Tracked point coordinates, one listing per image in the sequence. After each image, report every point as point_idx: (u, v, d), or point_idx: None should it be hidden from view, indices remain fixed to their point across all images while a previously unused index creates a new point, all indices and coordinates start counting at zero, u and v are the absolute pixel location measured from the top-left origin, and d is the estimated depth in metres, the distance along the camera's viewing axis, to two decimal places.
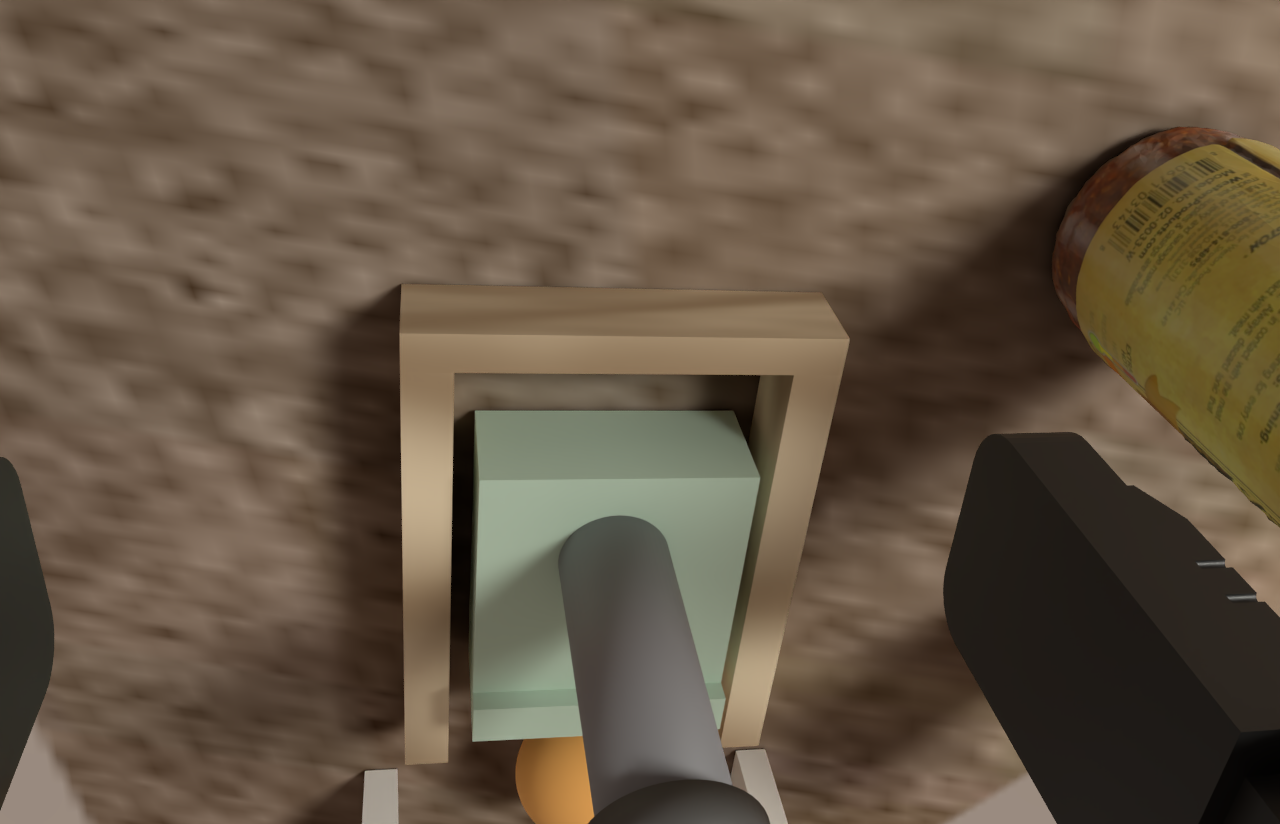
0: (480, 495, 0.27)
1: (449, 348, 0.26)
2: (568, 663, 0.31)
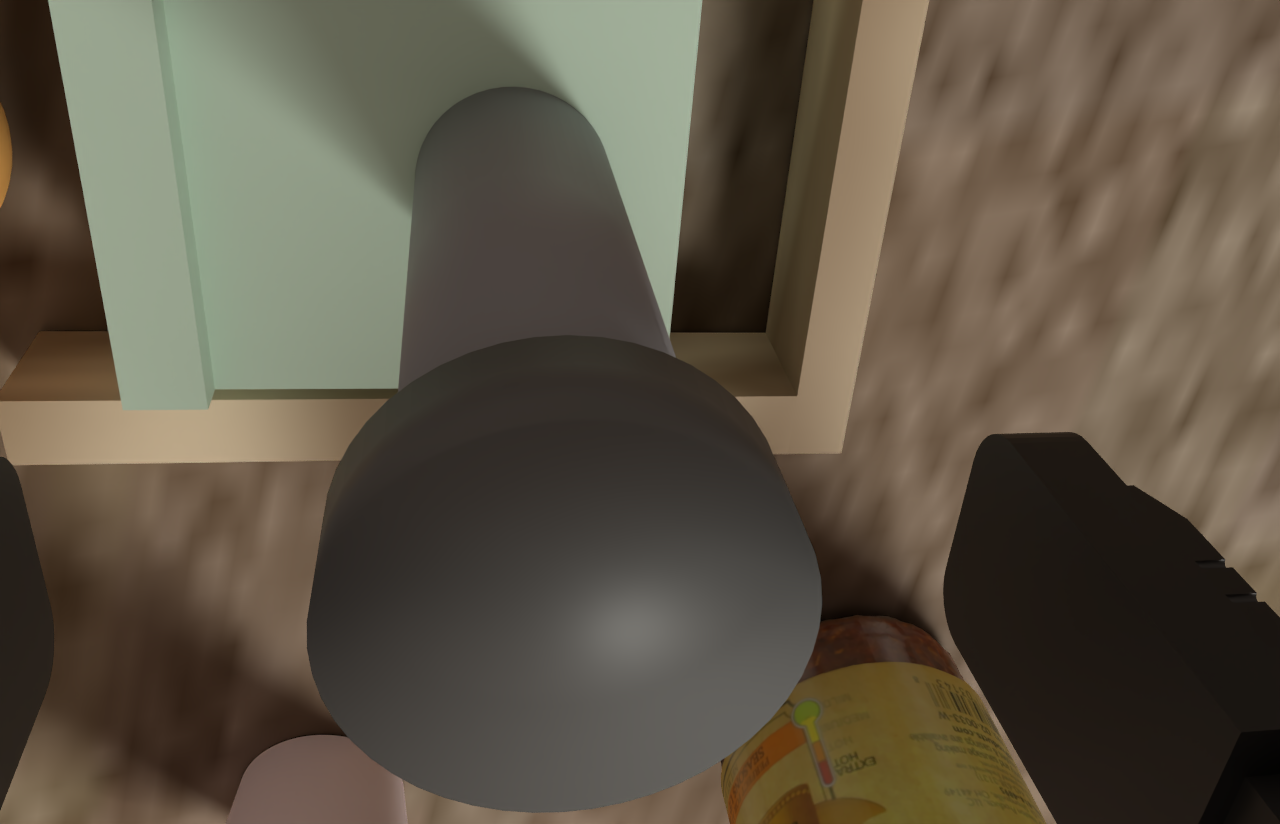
0: None
1: None
2: (251, 113, 0.16)
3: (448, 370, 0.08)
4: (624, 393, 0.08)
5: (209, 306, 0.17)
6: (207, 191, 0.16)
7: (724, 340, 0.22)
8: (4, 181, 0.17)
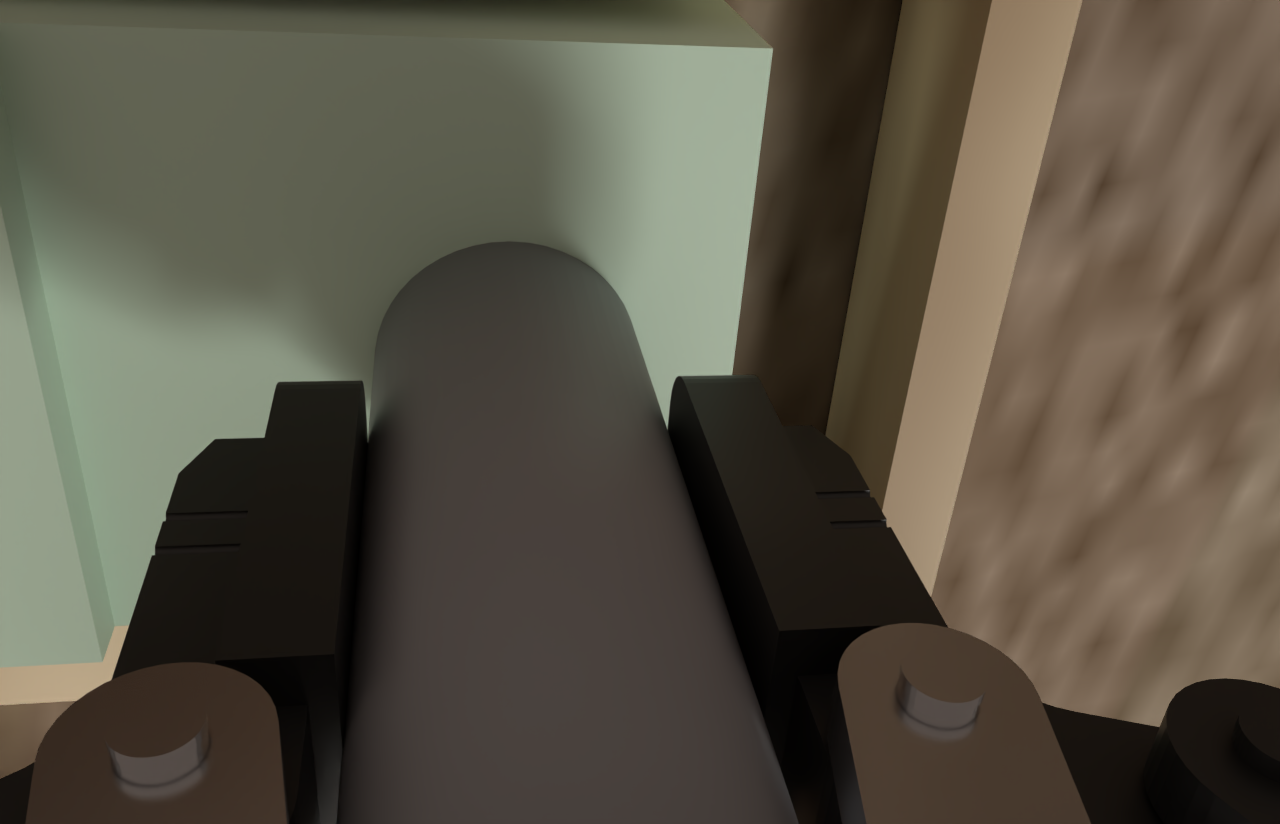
0: (729, 51, 0.11)
1: None
2: (146, 286, 0.11)
3: None
4: None
5: (101, 528, 0.13)
6: (90, 386, 0.12)
7: None
8: None
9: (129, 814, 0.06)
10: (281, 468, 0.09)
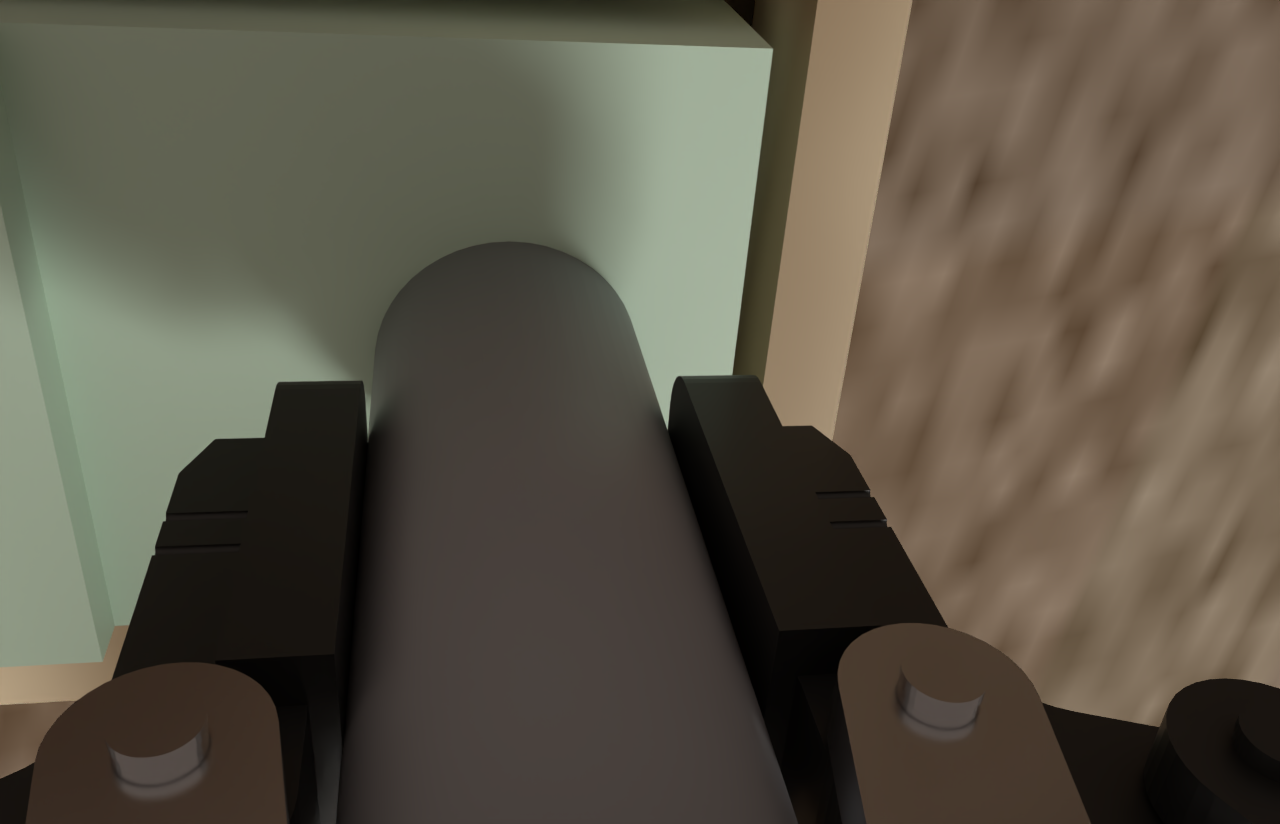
0: (729, 51, 0.11)
1: None
2: (146, 286, 0.11)
3: None
4: None
5: (101, 528, 0.13)
6: (90, 386, 0.12)
7: None
8: None
9: (130, 814, 0.06)
10: (281, 468, 0.09)
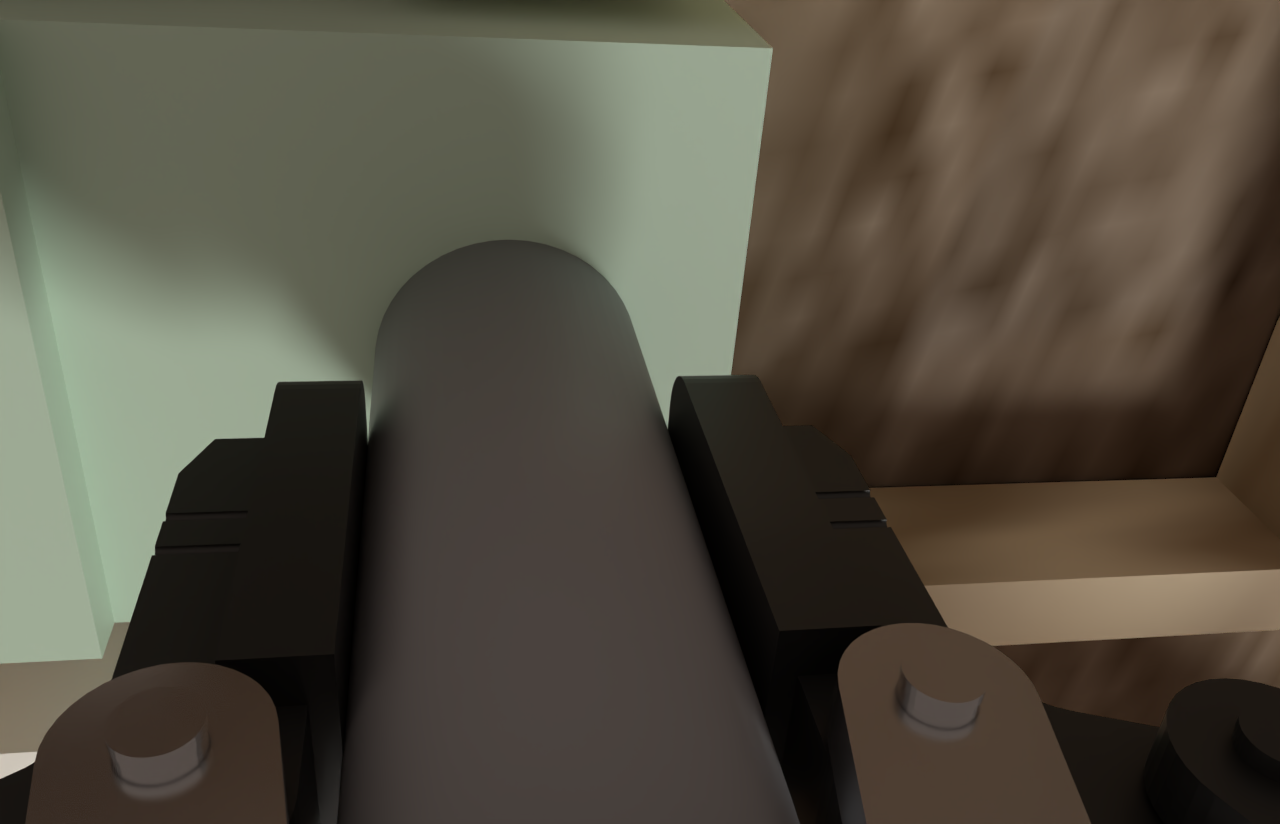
0: (729, 50, 0.11)
1: None
2: (147, 283, 0.11)
3: None
4: None
5: (101, 525, 0.13)
6: (91, 383, 0.12)
7: (1179, 489, 0.19)
8: None
9: (129, 814, 0.06)
10: (281, 468, 0.09)
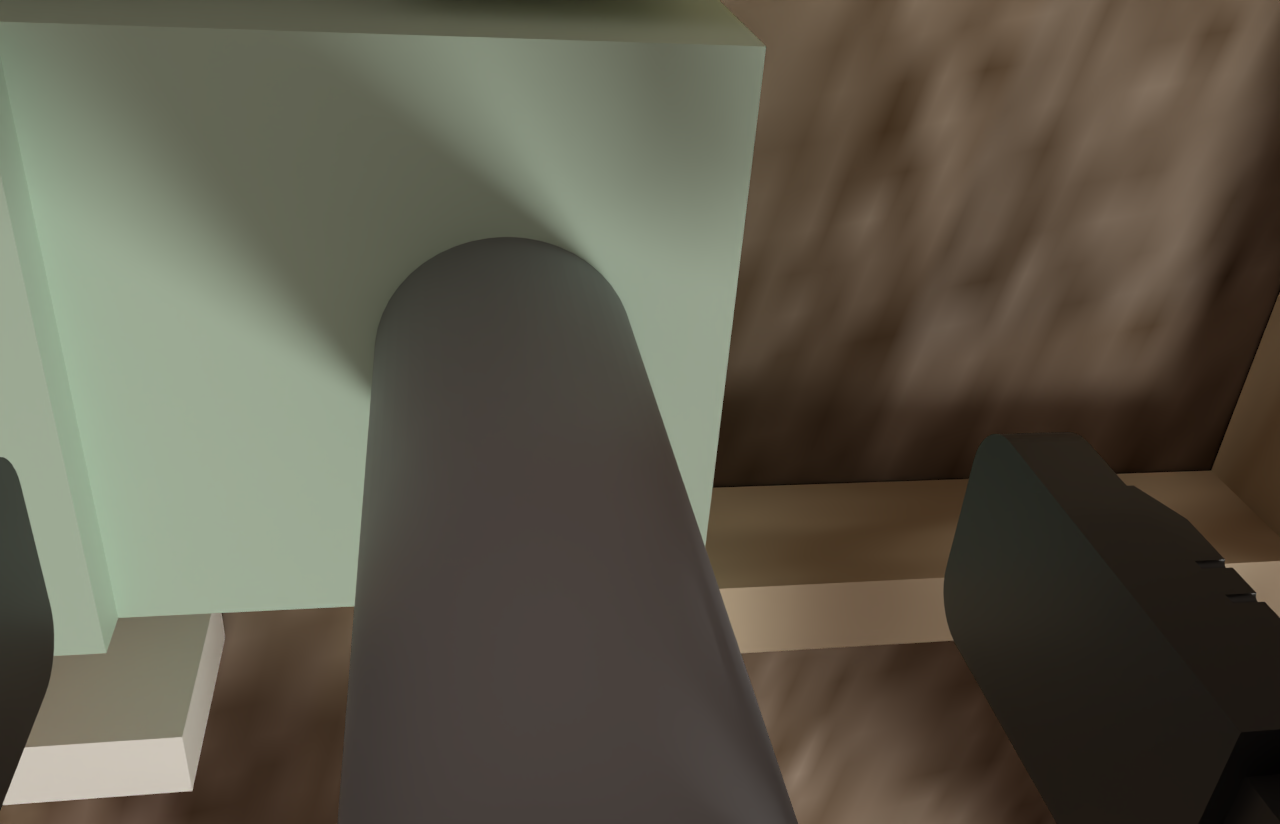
0: (723, 49, 0.11)
1: None
2: (149, 282, 0.12)
3: None
4: None
5: (104, 521, 0.13)
6: (94, 380, 0.12)
7: (1174, 483, 0.19)
8: None
9: None
10: None
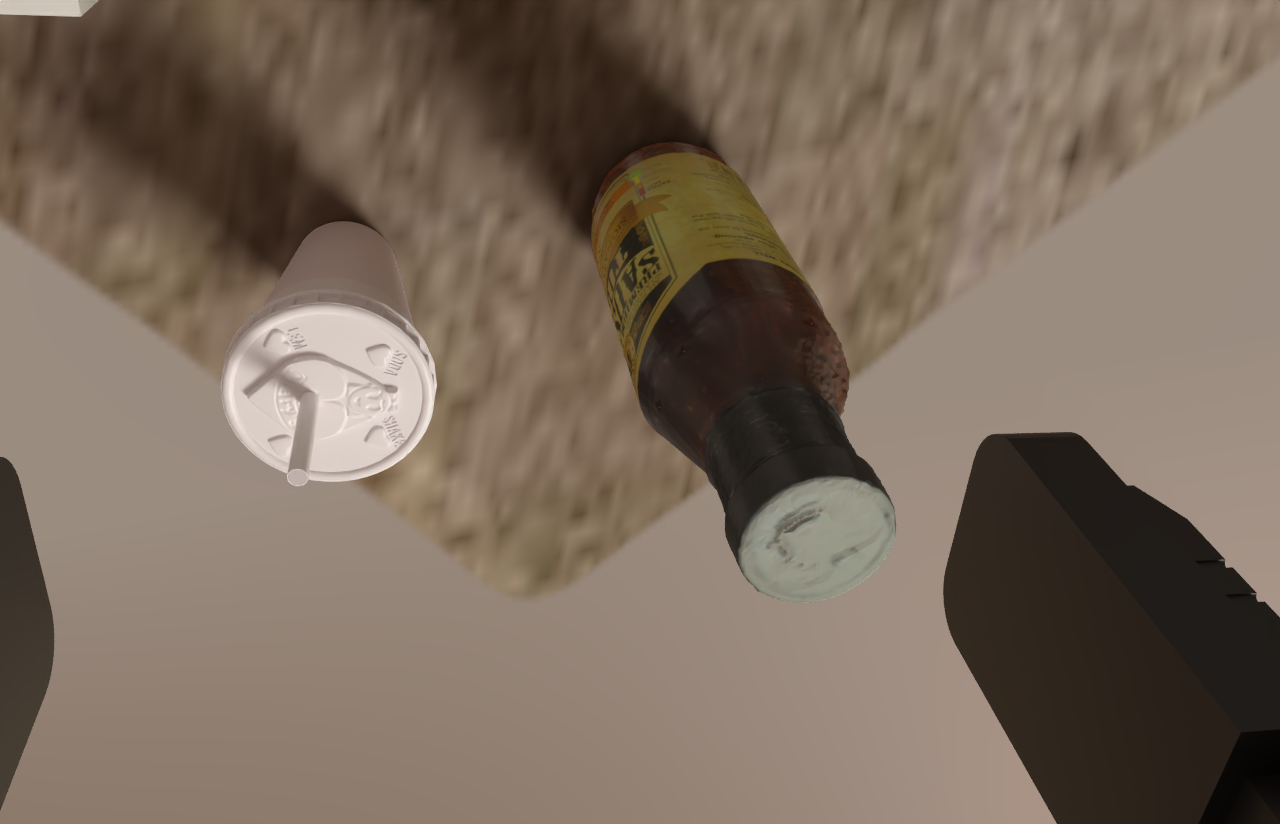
0: None
1: None
2: None
3: None
4: None
5: None
6: None
7: None
8: None
9: None
10: None
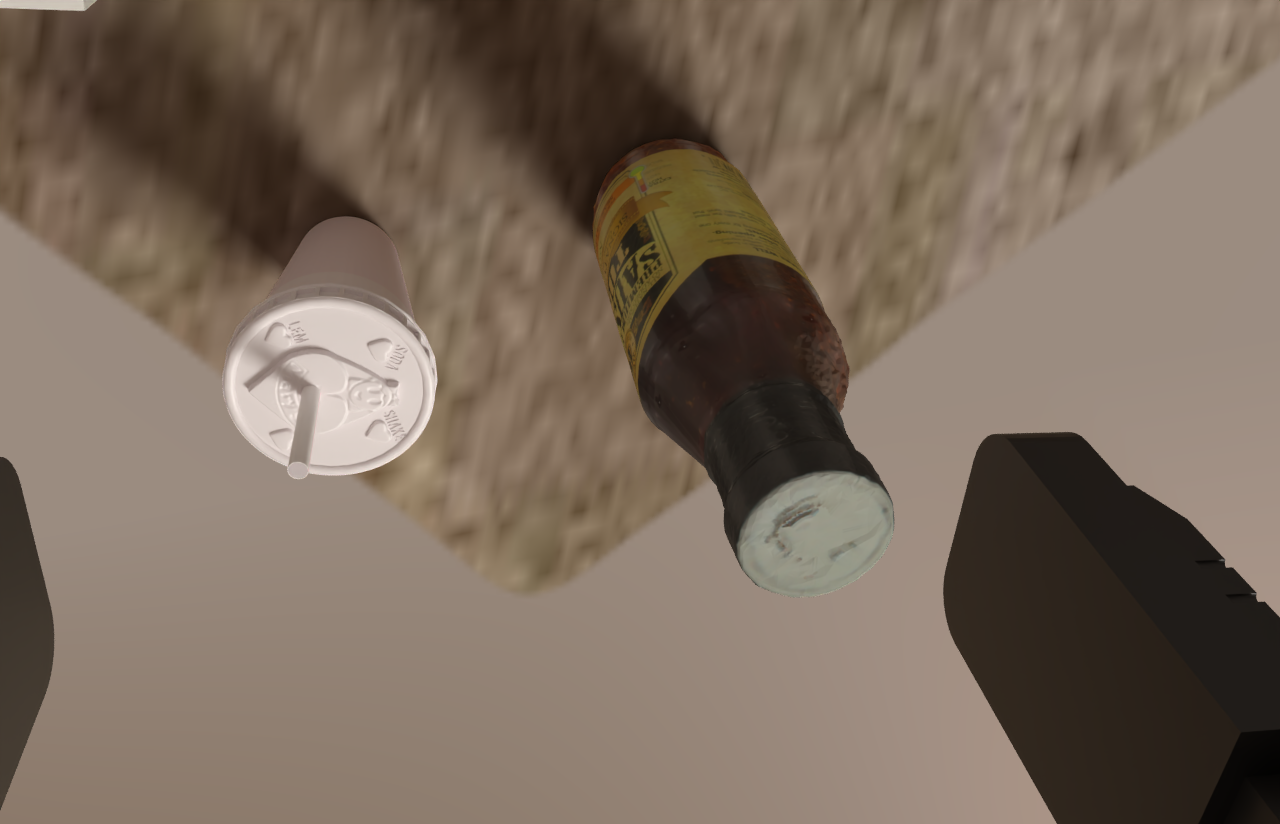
0: None
1: None
2: None
3: None
4: None
5: None
6: None
7: None
8: None
9: None
10: None
